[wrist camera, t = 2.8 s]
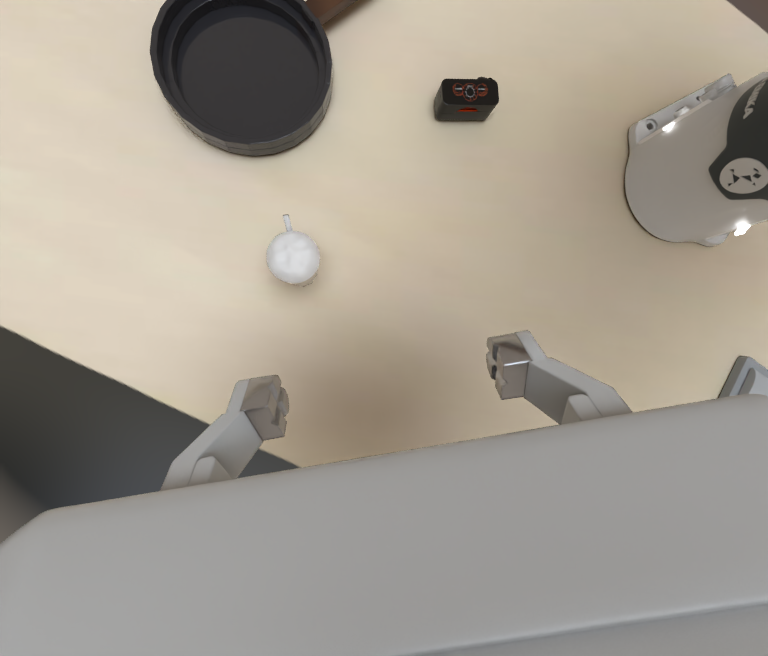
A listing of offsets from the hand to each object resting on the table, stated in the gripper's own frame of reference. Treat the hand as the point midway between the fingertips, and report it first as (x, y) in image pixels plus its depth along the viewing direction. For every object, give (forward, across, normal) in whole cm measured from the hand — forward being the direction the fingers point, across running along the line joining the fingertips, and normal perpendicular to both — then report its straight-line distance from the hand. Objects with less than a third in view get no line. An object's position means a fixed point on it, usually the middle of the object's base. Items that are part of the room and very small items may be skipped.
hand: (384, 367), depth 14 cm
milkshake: (+26, +8, +8) cm, 28 cm away
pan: (+38, +10, -9) cm, 40 cm away
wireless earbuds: (+38, -13, -3) cm, 40 cm away
